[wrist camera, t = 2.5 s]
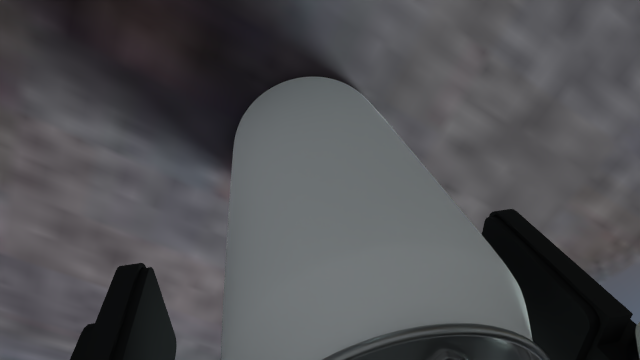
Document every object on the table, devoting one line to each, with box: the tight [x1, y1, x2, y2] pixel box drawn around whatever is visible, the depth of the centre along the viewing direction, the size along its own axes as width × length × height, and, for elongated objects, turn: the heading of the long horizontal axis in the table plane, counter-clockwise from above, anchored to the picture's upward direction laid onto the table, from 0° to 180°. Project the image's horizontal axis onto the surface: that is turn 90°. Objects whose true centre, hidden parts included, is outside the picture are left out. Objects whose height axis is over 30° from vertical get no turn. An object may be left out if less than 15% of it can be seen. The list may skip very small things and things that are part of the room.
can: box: [221, 77, 550, 360], centre depth 12 cm, size 6×6×12 cm
